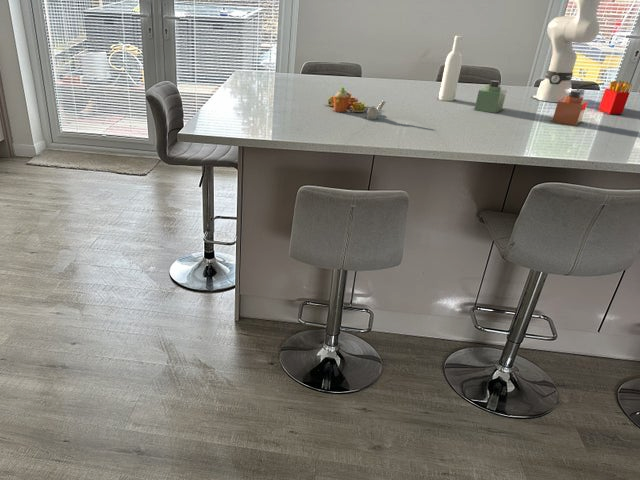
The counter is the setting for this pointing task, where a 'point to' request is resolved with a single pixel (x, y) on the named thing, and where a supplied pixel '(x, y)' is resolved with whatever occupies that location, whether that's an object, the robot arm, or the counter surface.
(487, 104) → the sage bottle
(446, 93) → the bottle
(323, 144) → the counter surface
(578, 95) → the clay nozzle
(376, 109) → the grey mortar and pestle
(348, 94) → the toy tea set
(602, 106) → the french fries container
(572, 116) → the clay bottle
